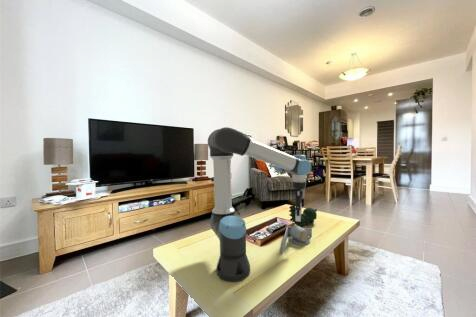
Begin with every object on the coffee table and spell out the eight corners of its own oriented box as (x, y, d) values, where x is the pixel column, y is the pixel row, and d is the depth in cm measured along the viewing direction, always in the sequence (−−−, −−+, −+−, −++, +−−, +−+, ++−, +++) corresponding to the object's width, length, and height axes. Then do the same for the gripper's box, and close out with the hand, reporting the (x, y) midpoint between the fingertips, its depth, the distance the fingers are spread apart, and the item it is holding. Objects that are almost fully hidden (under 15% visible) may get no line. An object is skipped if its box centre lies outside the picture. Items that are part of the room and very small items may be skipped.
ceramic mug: (300, 244, 114) (300, 230, 114) (289, 238, 121) (290, 226, 121) (313, 239, 119) (313, 227, 119) (302, 235, 126) (302, 222, 126)
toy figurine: (297, 232, 136) (323, 222, 147) (295, 204, 134) (321, 196, 146) (287, 227, 144) (312, 218, 156) (285, 201, 143) (311, 194, 154)
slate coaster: (310, 246, 112) (310, 245, 112) (287, 243, 116) (287, 242, 116) (310, 237, 124) (310, 236, 124) (289, 235, 128) (289, 234, 128)
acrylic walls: (312, 258, 101) (312, 248, 100) (282, 253, 106) (281, 244, 105) (311, 236, 125) (311, 228, 125) (287, 233, 130) (287, 225, 130)
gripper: (305, 185, 105) (304, 225, 106) (306, 178, 129) (305, 211, 130) (290, 184, 108) (290, 223, 109) (294, 178, 131) (293, 210, 132)
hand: (298, 217), depth 119 cm, fingers open, 13 cm apart
